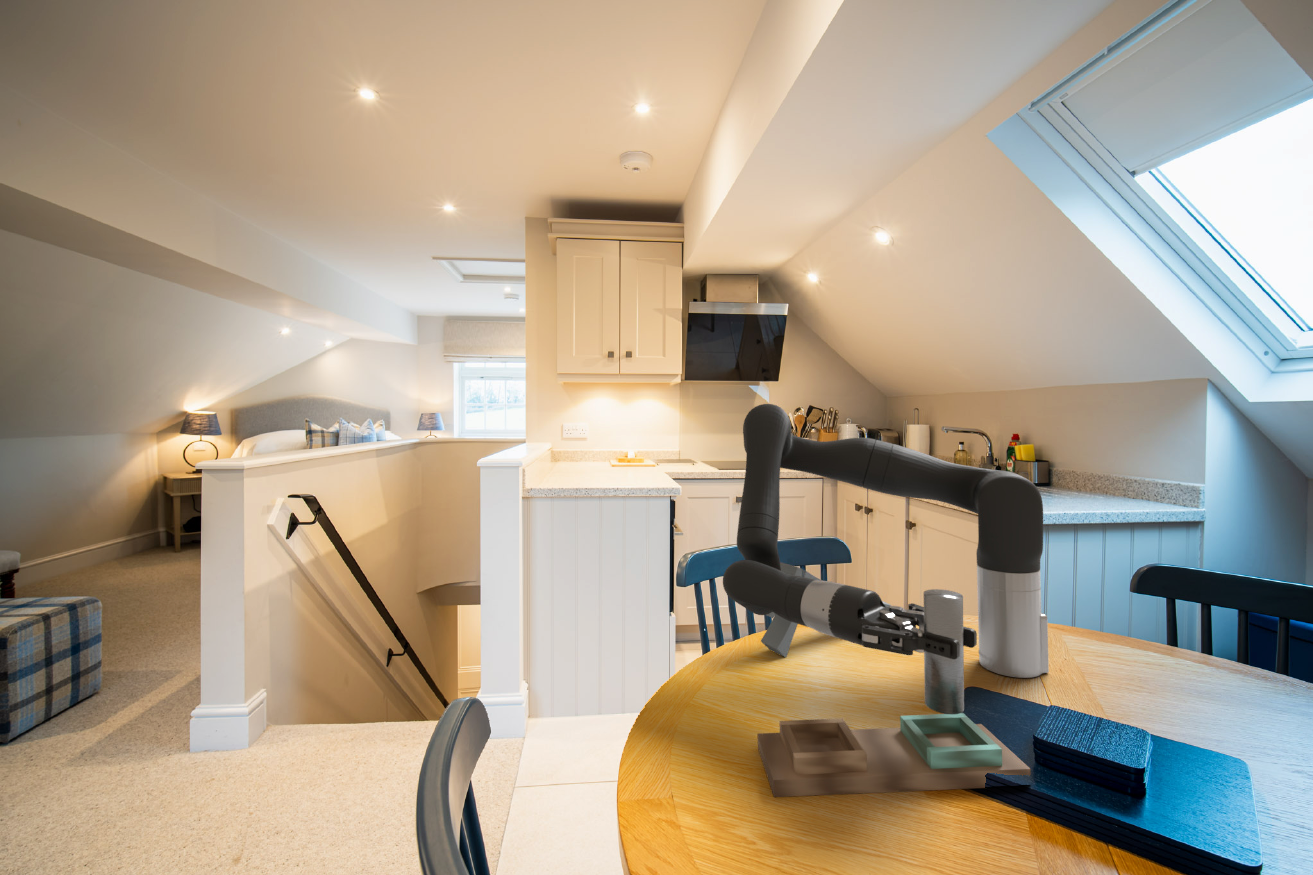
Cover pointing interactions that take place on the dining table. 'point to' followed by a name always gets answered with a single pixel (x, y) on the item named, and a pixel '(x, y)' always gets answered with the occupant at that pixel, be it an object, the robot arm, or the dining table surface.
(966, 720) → the brown insertion board
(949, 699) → the peg
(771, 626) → the grey bent piece
